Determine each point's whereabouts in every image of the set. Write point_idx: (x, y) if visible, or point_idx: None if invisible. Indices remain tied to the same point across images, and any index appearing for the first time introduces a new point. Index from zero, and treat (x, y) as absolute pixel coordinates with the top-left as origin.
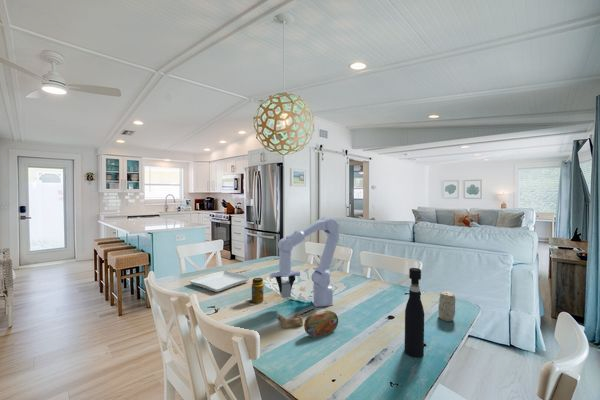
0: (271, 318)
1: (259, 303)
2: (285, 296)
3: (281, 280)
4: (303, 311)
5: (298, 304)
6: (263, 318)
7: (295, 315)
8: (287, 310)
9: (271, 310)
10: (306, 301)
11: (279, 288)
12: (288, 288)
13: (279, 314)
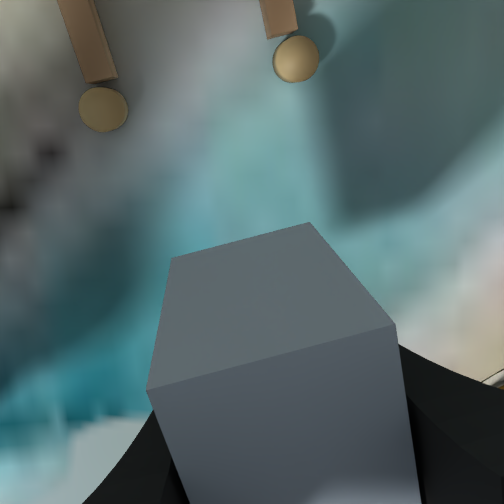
0: (387, 33)
1: (497, 382)
2: (261, 242)
3: (496, 464)
4: (38, 225)
5: (117, 388)
6: (473, 33)
7: (108, 59)
8: (221, 244)
9: (387, 237)
10: (41, 458)
11: None
12: (211, 320)
13: (306, 65)
